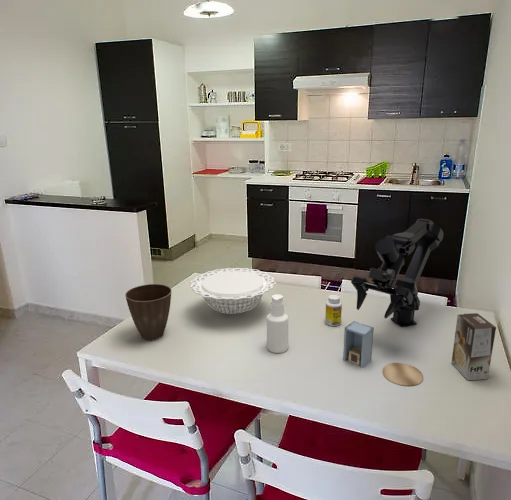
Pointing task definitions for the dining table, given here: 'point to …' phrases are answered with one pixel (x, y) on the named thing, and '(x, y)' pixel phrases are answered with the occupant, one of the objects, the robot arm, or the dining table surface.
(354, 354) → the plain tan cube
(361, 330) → the blue-grey open box
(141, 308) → the plant pot
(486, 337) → the coffee box
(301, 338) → the dining table surface
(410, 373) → the coaster
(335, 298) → the supplement bottle
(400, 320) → the robot arm
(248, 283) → the white woven basket
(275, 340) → the spray bottle
